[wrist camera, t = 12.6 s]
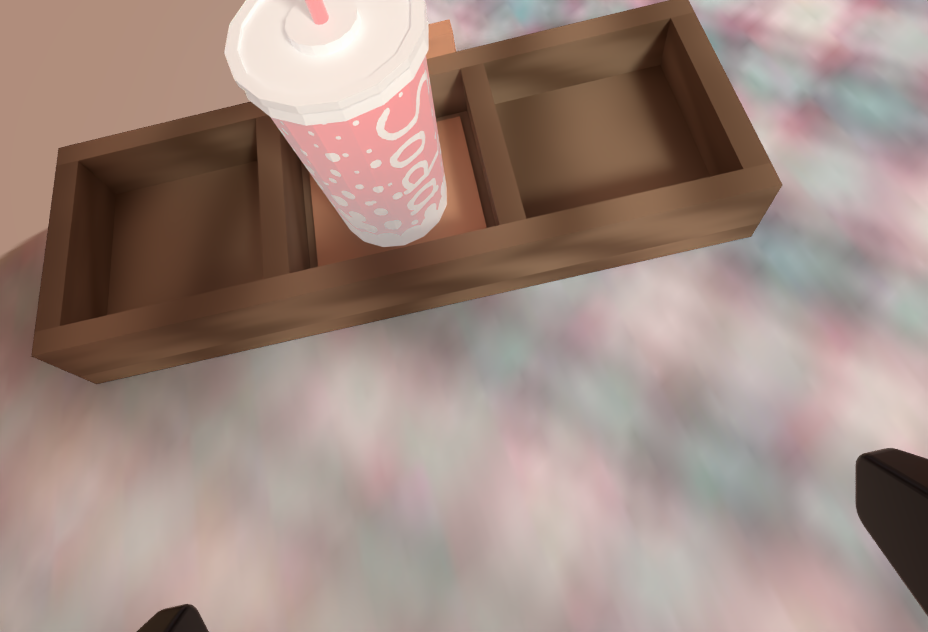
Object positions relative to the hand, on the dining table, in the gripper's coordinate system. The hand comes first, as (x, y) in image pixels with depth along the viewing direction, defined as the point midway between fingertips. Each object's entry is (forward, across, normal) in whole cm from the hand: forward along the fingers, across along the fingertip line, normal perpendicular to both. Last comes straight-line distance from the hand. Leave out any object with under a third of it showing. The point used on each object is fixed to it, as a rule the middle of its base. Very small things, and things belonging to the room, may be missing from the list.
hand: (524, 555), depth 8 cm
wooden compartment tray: (+20, +2, -2) cm, 21 cm away
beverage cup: (+20, +2, -2) cm, 20 cm away
